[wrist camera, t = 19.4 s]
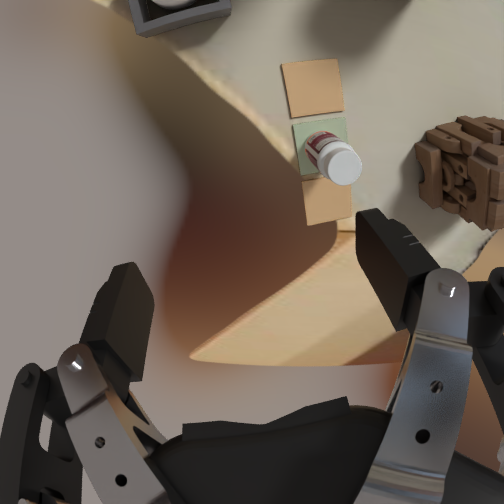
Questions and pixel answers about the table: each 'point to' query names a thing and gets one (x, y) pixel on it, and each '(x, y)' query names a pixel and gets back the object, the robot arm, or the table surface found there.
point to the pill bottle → (333, 157)
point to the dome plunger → (174, 3)
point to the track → (315, 102)
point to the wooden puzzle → (465, 170)
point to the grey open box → (174, 17)
